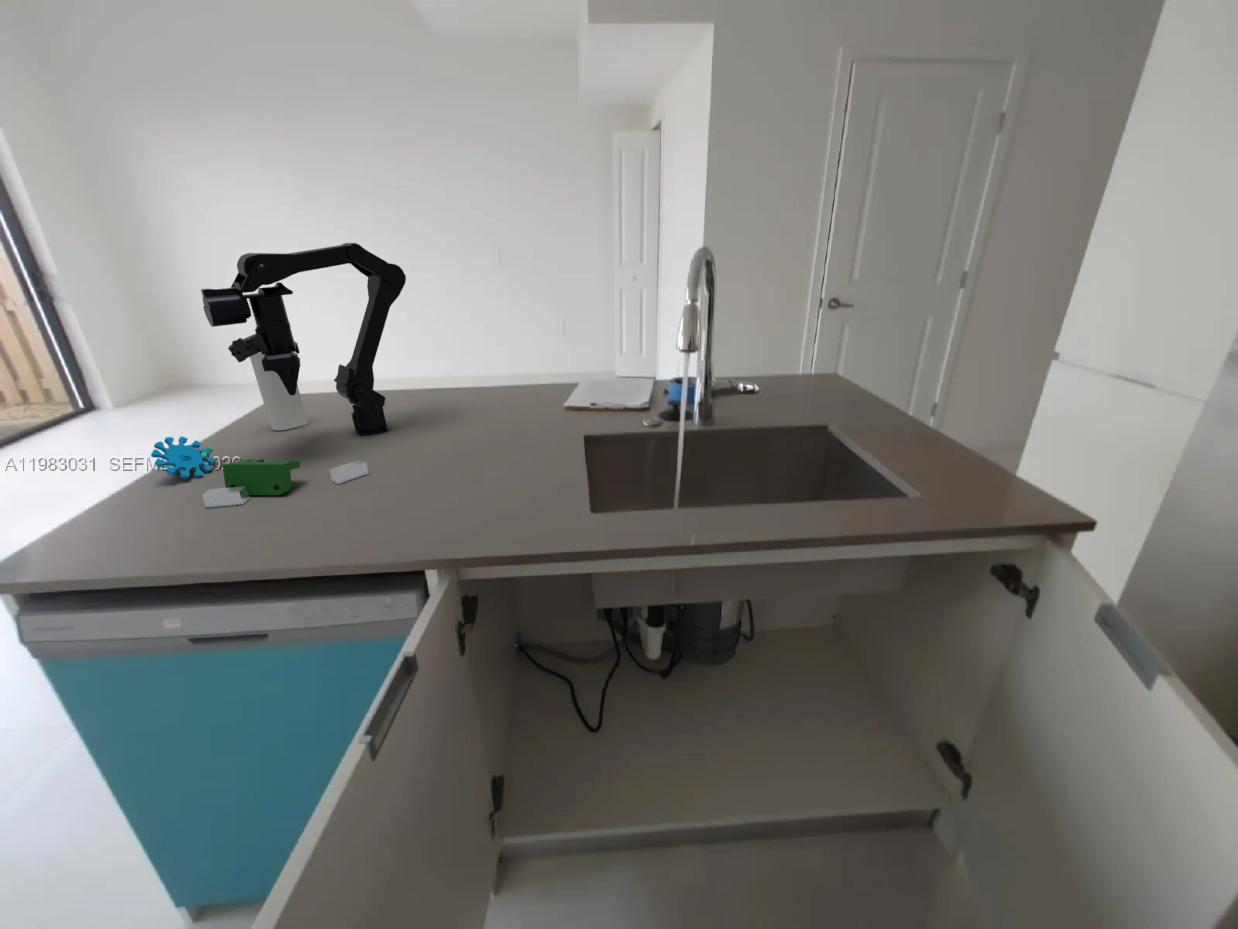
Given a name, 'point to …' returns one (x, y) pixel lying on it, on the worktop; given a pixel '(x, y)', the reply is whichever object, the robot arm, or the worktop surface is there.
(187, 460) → the gear
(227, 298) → the robot arm
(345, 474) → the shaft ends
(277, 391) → the paper towel roll
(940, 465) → the worktop surface
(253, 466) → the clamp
